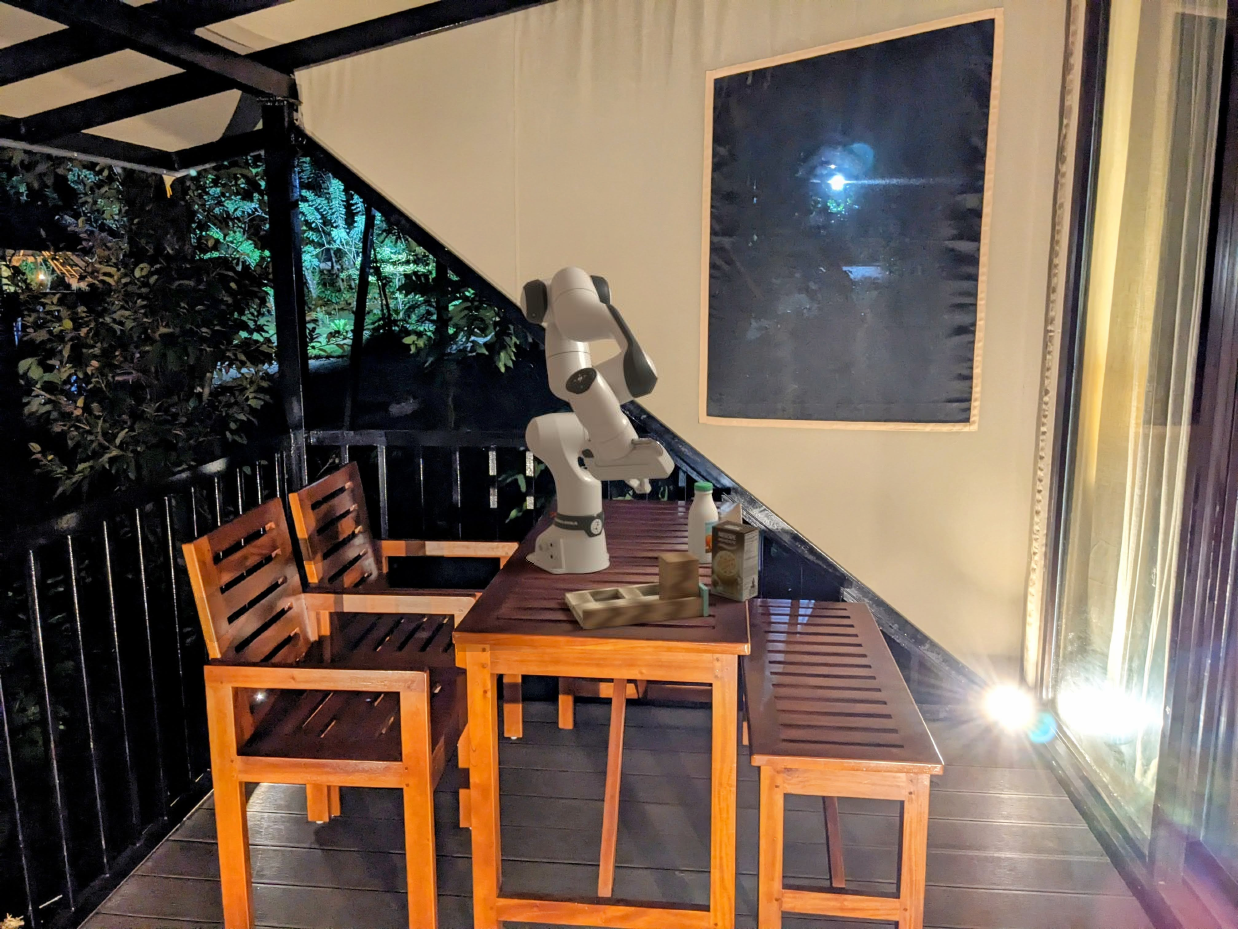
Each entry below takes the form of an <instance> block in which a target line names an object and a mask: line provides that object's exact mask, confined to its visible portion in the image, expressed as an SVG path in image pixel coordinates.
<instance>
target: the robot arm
mask: <svg viewBox="0 0 1238 929" xmlns="http://www.w3.org/2000/svg"><path fill="white" fill-rule="evenodd" d="M519 299H520V300H519V304H520V309H521V312H522V314H523V315H524V318H525V319H526V320H527V321H528V322H529V323H532V324H537V325H538V324H539V325H542V324H543V323H545V324H546V328H545V334H544V335H545V338H544V339H545V340H544V345H545V346H544V349H545V360H546V361H545V362H546V369H547V375H548V376H547V377H548V385H549V389H550V391H551V393H552V394H553V395H555V396H556V397H557V398H559V399H561V400H563V401H565V402H568V403H569V404H568V405H570V407H571V409H572V411H571V412H570V411H569V412H555V413H553V412H552V413H547V414H544V415H543V414H542V415H540V416H536V417H533V418H532V419H531V420H530V422H529V423H528V425H527V427H526V430H525V442H526V446H527V448H528V450H529V451H530V452H531V453H532V454H533V455H534V456H535V457H537V458H538V459H539V460H541V461H542V462H543V463H544V464H545V465H546V466H547V468H548V469H549V470H550V472H551V474H552V476H553V479H554V482H555V491H556V499H557V510H556V511H552V512H550V513H549V514H552V515H550V518H553V521H552V524H551V526H549V527H548V528H547V529H546V530H545V531H543V532H542V533H541V534H539V535H538V536H537V538H536V540H535V546H534V547H535V550H534V551H535V552H532V553H529V554H528V555H527V556H526V559H527V560H528V561H530V562H532V563H534V564H533V565H534V566H537V567H539V568H541V569H543V570H545V571H547V572H550V573H551V574H554V575H555V574H557V575H558V574H559V575H560V574H586V573H587V574H589V573H594V572H599V571H603V570H604V569H607V568H608V567H609V566H610V560H609V559H610V553H608V549H607V542H606V541H607V540H606V534H605V529H604V524H605V514H604V509H603V503H602V502H603V501H602V481H619V480H620V481H621V480H622V481H624V482H625V483H626V484H627V485H628V486H630V487H631V488H633V489H634V491H635V492H636V494H649V493H650V491H651V490H652V487H651V484H650V483H649V482H650V480H649V479H653V480H654V479H667V478H668V477H669V476H670V475H671V473H673V470H674V468H675V463H674V460H673V459H672V457H671V456H670V454H669V453H668V451H667V450H666V448H665V447H664V446H663V445H662V444H661V442H659V441H656V440H655V439H652V438H651V437H645V438H641V437H639V436H638V434H637V432H636V430H635V429H634V427H633V425H632V423H631V421H630V420H629V418H628V417H627V415H626V414H625V413H623V411H622V410H621V406H622V405H624V404H625V403H628V402H631V401H632V400H634V399H638V398H642V397H645V396H648V395H650V394H652V392H653V391H654V388H655V387H656V385H657V383H658V379H659V378H658V373H657V372H658V371H657V368H656V365H655V364H654V362H653V360H652V358H650V356H649V355H648V354H647V353H646V352H645V350H643V349H642V347H641V346H640V343H639V342H638V341H637V338H636V337H635V335H634V333H633V332H632V330H631V329H630V327H629V325H628V323H627V322H626V320H625V319H624V318H623V316H622V315H621V313H620V311H619V310H618V309H617V308H616V307H615V306H614V305H613V304H612V299H613V298H612V291H611V288H610V286H609V283H608V281H607V280H606V278H604V277H603V276H601V275H595V274H594V275H593V274H590V275H588V273H587V272H586V271H585V270H583V269H582V268H580V267H575V266H566V267H564V268H561V269H559V270H558V271H557V272H556V273H554V275H553V277H549V278H544V279H539V278H538V279H536V278H535V279H532V280H530V281H527V282H526V283H525V284H524V285H523V286H522V290H521V294H520V298H519ZM609 339H610V340H614V341H615V342H616V344H617V345H618V347H619V349H620V352H619V353H618V354H616V355H615V356H613V357H611V358H609V359H607V360H605V361H602V362H600V363H598V364H595V365H594V366H593V365H592V358H591V352H590V346H589V343H590V342H596V341H600V340H609ZM580 457H581V459H583V463H584V464H585V467H586V468H583V467H581V466H579V461H578V458H580ZM526 559H525V560H526ZM527 560H526V561H527ZM528 561H527V562H528ZM530 562H529V563H530ZM532 563H531V564H532Z"/></svg>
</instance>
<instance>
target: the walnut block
mask: <svg viewBox="0 0 1238 929" xmlns="http://www.w3.org/2000/svg"><path fill="white" fill-rule="evenodd" d="M699 581H700V563H699V559H698V558H697V557H695V556H694V555H693V554H692V553H690V552H688V551H681V552H672V553H661V554H658V583H659V599H660V600H661V601H664V600H672V599H681V598H690V597H699Z"/></svg>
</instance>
